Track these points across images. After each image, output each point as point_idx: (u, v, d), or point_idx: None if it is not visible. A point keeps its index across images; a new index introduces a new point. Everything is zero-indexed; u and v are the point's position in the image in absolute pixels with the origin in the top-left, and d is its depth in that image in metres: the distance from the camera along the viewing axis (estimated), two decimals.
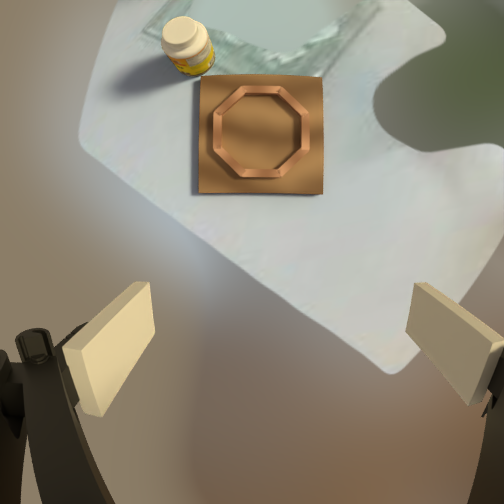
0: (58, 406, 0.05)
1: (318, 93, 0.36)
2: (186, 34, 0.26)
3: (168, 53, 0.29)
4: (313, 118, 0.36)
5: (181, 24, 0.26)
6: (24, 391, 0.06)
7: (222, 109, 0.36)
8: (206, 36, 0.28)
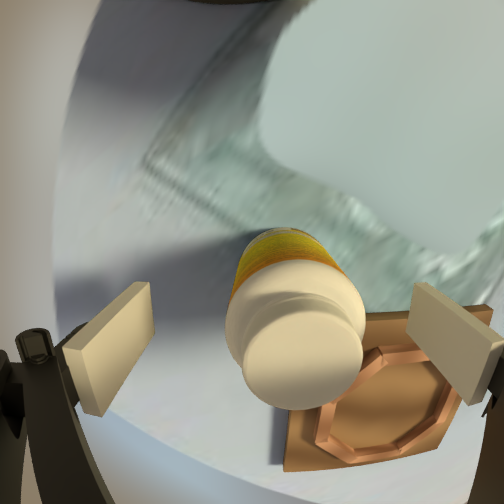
0: (58, 406, 0.05)
1: None
2: (329, 384, 0.09)
3: None
4: None
5: (313, 349, 0.09)
6: (24, 391, 0.06)
7: None
8: (363, 332, 0.11)
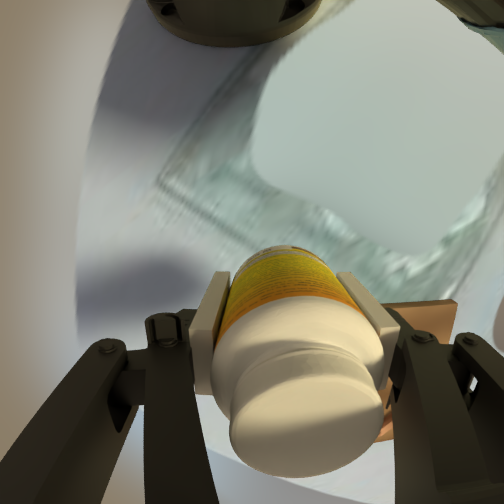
0: (184, 392, 0.07)
1: (448, 329, 0.23)
2: (339, 452, 0.07)
3: None
4: None
5: (322, 418, 0.06)
6: (146, 372, 0.07)
7: None
8: None
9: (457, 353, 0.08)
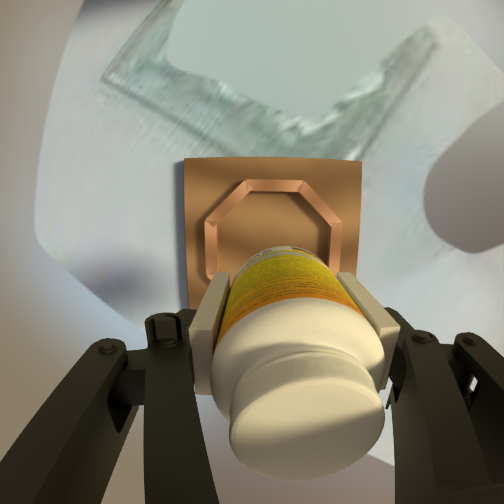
0: (183, 391, 0.07)
1: (355, 187, 0.26)
2: (340, 455, 0.06)
3: None
4: (346, 226, 0.27)
5: (323, 421, 0.06)
6: (146, 372, 0.07)
7: (217, 217, 0.26)
8: None
9: (457, 353, 0.08)
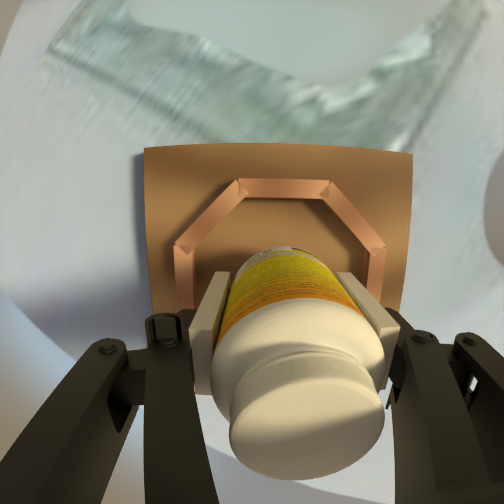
0: (183, 392, 0.07)
1: (404, 193, 0.17)
2: (339, 455, 0.06)
3: None
4: (389, 251, 0.18)
5: (323, 421, 0.06)
6: (146, 372, 0.07)
7: (192, 240, 0.17)
8: None
9: (457, 353, 0.08)
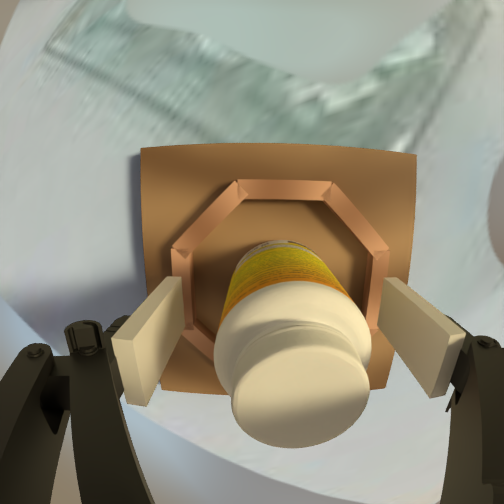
0: (106, 398, 0.06)
1: (408, 194, 0.16)
2: (330, 422, 0.08)
3: None
4: (393, 254, 0.17)
5: (314, 386, 0.07)
6: (70, 381, 0.06)
7: (190, 243, 0.16)
8: None
9: None
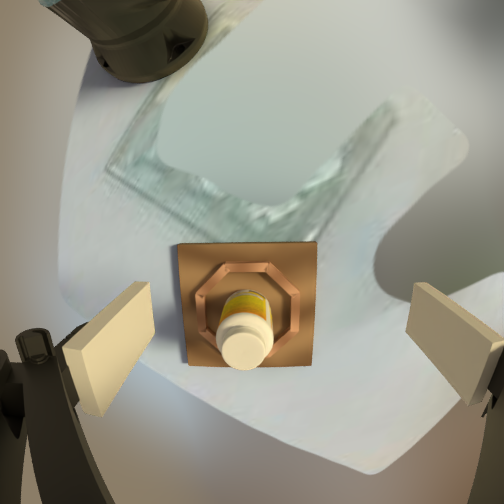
0: (58, 406, 0.05)
1: (312, 264, 0.35)
2: (253, 359, 0.26)
3: None
4: (304, 294, 0.36)
5: (245, 345, 0.26)
6: (24, 391, 0.06)
7: (204, 291, 0.35)
8: (272, 341, 0.29)
9: None
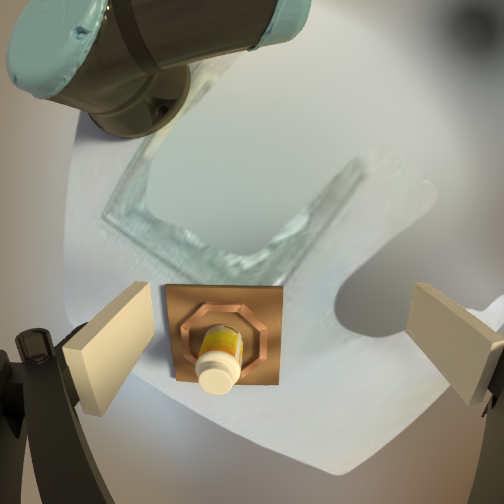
0: (58, 406, 0.05)
1: (278, 305, 0.41)
2: (223, 388, 0.33)
3: None
4: (272, 329, 0.42)
5: (216, 378, 0.33)
6: (24, 391, 0.06)
7: (188, 325, 0.41)
8: (239, 372, 0.35)
9: None
